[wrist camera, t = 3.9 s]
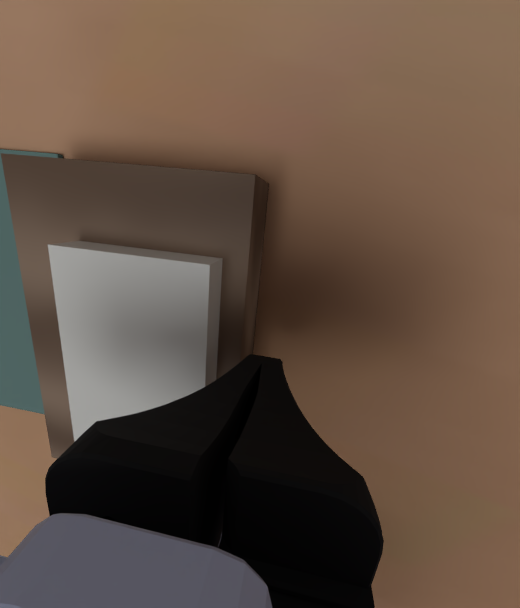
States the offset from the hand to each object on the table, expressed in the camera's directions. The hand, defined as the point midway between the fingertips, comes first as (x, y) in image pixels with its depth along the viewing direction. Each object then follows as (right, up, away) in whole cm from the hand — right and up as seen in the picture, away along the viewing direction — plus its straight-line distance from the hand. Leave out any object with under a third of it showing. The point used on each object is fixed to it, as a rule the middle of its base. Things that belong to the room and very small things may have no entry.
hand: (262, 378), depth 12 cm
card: (-5, +1, +1) cm, 5 cm away
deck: (-5, +2, +5) cm, 7 cm away
